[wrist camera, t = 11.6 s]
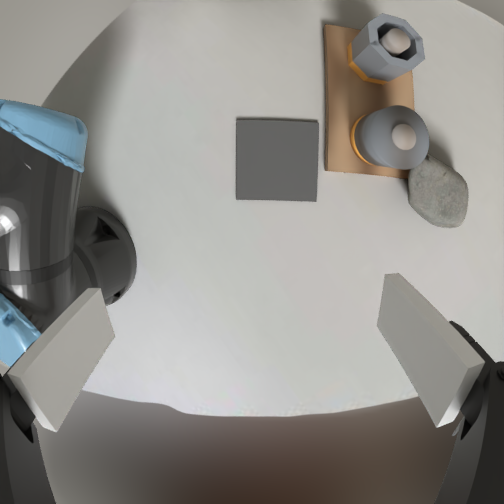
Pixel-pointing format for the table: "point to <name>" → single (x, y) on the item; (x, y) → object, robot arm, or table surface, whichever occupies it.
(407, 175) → the pin board
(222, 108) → the table surface
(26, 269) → the robot arm
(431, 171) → the stone
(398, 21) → the sleeve
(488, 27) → the table surface
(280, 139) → the pad
